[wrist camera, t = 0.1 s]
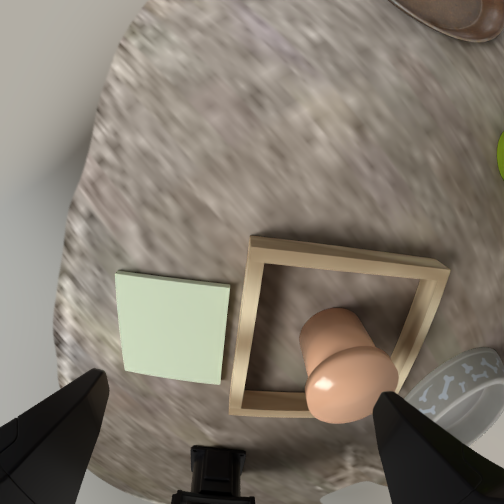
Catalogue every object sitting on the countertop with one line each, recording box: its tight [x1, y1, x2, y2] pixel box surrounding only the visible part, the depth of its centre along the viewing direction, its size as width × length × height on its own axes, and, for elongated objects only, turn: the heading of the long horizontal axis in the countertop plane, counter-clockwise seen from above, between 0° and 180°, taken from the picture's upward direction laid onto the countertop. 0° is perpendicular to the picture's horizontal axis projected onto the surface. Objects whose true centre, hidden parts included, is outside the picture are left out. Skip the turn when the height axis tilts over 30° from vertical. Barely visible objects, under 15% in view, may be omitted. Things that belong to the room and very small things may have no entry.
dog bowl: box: [404, 347, 504, 446], centre depth 28 cm, size 17×18×5 cm
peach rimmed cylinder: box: [299, 308, 399, 423], centre depth 22 cm, size 7×7×7 cm
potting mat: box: [115, 271, 230, 385], centre depth 24 cm, size 10×9×1 cm
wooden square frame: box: [229, 235, 451, 418], centre depth 24 cm, size 16×16×2 cm
